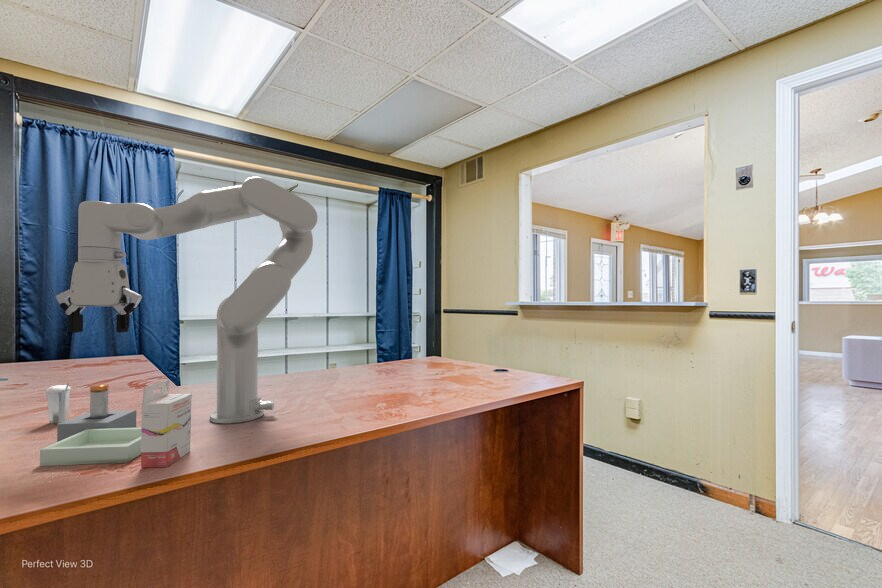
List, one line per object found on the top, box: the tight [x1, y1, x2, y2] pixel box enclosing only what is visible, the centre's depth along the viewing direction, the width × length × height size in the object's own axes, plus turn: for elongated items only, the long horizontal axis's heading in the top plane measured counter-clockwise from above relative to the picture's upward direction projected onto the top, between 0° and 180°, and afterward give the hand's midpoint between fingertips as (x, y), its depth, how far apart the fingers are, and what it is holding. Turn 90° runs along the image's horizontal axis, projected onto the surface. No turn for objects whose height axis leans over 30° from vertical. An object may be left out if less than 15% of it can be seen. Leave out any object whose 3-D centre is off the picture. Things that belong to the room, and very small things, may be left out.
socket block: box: [56, 409, 137, 442], centre depth 95 cm, size 10×10×4 cm
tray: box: [39, 426, 142, 467], centre depth 84 cm, size 15×12×3 cm
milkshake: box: [45, 381, 72, 425], centre depth 104 cm, size 5×5×10 cm
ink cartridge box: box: [140, 379, 193, 468], centre depth 81 cm, size 9×5×15 cm, turn 5°
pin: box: [89, 383, 110, 420], centre depth 95 cm, size 3×3×11 cm
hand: (99, 332), depth 95 cm, fingers open, 9 cm apart
